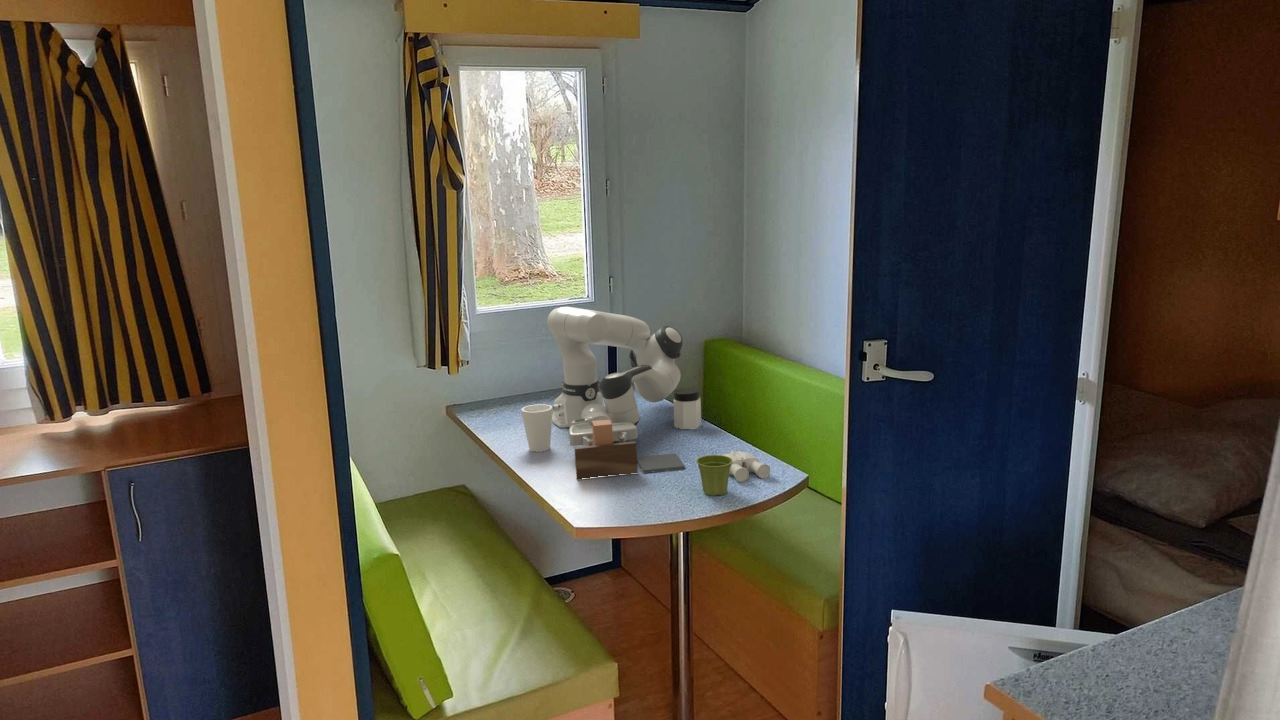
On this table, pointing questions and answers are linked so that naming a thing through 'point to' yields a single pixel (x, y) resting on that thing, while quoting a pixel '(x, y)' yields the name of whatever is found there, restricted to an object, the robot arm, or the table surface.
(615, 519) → the table surface
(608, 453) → the low board
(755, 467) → the binoculars
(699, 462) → the plant pot
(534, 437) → the foam cup
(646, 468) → the slate pad
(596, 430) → the marked block
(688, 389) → the jar
